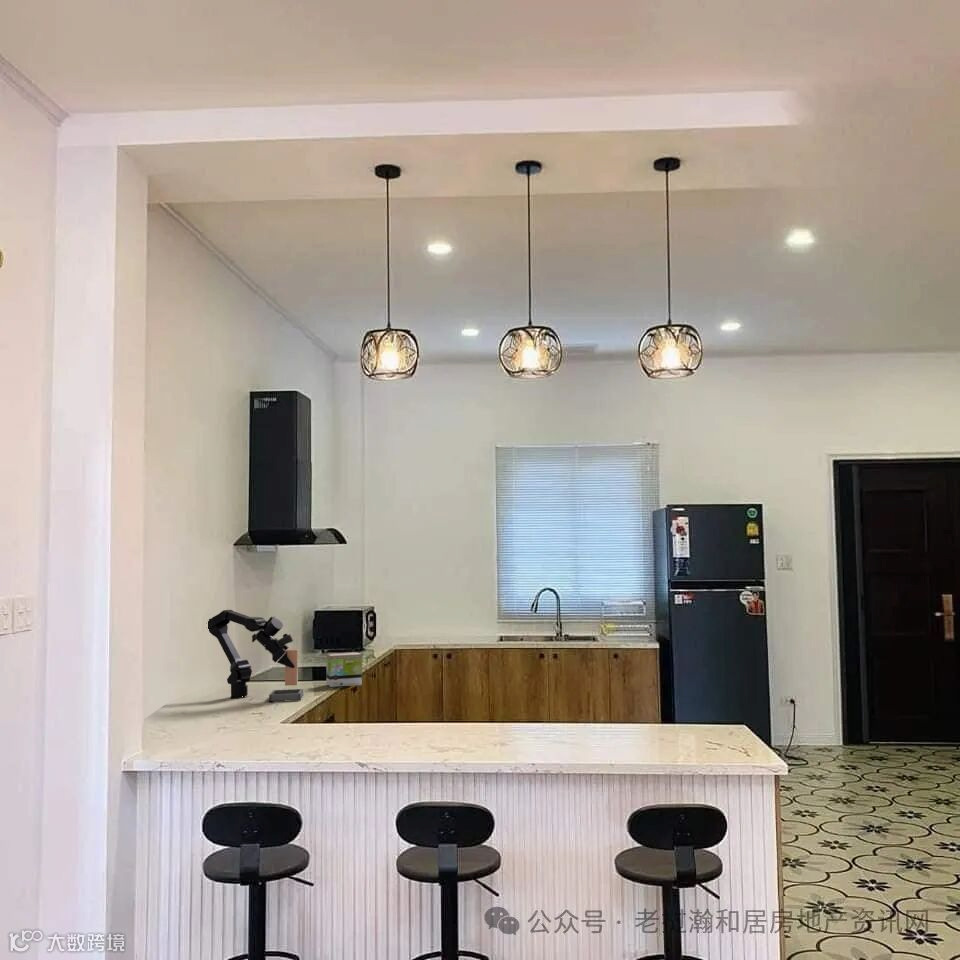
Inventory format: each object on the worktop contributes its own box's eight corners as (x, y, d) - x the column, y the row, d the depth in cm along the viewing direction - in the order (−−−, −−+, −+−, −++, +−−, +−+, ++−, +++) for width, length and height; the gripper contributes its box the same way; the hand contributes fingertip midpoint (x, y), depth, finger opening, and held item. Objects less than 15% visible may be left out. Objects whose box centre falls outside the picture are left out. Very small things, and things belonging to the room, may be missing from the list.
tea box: (330, 688, 408) (330, 655, 409) (326, 685, 417) (325, 653, 418) (362, 685, 414) (361, 653, 415) (357, 682, 423) (356, 651, 424)
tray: (269, 702, 373) (269, 694, 373) (273, 697, 386) (273, 690, 386) (300, 700, 375) (300, 693, 375) (303, 695, 387) (303, 688, 388)
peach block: (284, 685, 380) (285, 650, 381) (286, 683, 386) (286, 648, 387) (296, 685, 381) (297, 650, 382) (297, 683, 387) (298, 648, 388)
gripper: (280, 630, 375) (306, 655, 376) (283, 626, 394) (308, 650, 394) (261, 649, 374) (287, 674, 374) (265, 644, 392) (291, 668, 393)
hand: (294, 666), depth 384 cm, fingers closed on peach block, 6 cm apart
